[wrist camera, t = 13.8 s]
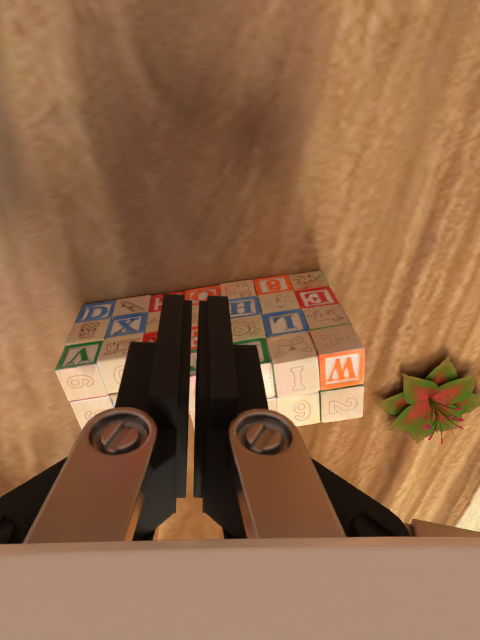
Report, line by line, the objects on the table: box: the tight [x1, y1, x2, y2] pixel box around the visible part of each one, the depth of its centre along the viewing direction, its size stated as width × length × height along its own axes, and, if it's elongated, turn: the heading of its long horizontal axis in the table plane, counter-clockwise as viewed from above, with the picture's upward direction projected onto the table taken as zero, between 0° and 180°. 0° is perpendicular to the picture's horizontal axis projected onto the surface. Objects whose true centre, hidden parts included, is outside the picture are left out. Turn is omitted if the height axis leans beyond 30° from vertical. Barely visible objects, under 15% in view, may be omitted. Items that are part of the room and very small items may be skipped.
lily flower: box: [375, 356, 480, 444], centre depth 46 cm, size 12×12×5 cm
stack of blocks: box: [55, 271, 365, 432], centre depth 35 cm, size 21×6×12 cm, turn 97°
